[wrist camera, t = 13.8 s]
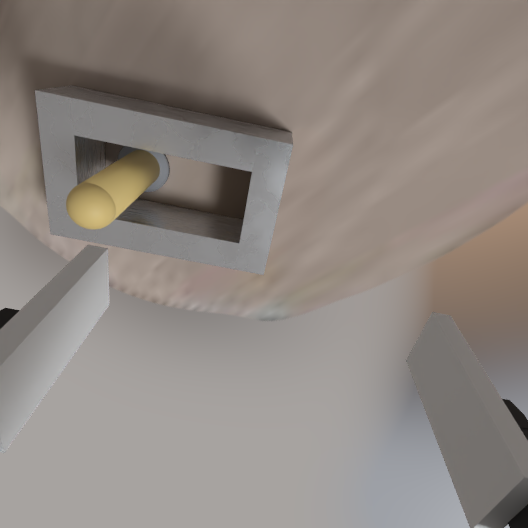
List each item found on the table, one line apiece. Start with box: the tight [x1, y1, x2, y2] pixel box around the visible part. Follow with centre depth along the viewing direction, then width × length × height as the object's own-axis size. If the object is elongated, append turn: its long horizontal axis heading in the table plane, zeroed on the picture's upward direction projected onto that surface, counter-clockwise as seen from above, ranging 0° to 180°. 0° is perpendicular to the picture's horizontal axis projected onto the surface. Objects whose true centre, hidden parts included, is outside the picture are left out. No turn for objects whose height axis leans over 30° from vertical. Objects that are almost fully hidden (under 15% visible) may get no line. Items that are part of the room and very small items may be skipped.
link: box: [35, 85, 293, 275], centre depth 30 cm, size 18×11×5 cm, turn 79°
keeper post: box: [66, 146, 170, 229], centre depth 27 cm, size 4×4×12 cm
